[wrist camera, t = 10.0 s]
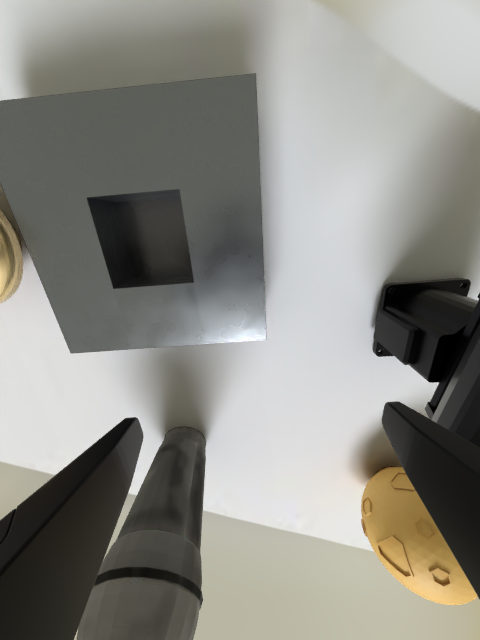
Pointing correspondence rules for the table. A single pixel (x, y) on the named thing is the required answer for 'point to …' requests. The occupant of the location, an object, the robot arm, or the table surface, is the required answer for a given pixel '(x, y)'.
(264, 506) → the table surface
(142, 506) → the beverage cup
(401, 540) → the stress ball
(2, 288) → the end cover
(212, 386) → the table surface
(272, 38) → the table surface
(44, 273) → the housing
